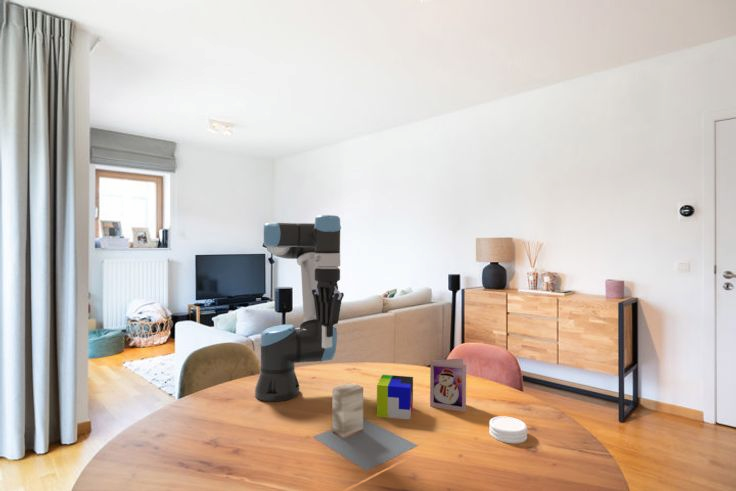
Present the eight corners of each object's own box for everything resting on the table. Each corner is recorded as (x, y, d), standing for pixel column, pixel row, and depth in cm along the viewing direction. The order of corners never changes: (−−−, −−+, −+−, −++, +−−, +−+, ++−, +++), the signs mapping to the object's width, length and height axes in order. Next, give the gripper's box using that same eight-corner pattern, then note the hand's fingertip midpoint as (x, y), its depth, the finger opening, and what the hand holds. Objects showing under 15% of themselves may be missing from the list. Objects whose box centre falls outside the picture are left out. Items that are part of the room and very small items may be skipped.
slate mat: (312, 438, 111) (312, 436, 111) (362, 419, 123) (362, 417, 123) (366, 472, 95) (366, 470, 95) (417, 446, 107) (418, 445, 107)
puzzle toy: (409, 421, 122) (409, 387, 122) (376, 417, 124) (377, 385, 124) (412, 407, 132) (413, 376, 132) (382, 405, 134) (382, 374, 134)
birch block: (332, 432, 114) (332, 388, 114) (351, 424, 118) (351, 382, 118) (343, 438, 110) (343, 393, 110) (363, 430, 115) (363, 387, 115)
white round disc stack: (526, 430, 117) (526, 418, 117) (527, 447, 108) (528, 434, 107) (490, 425, 120) (490, 413, 120) (488, 440, 111) (488, 428, 111)
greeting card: (429, 407, 132) (429, 361, 132) (434, 399, 139) (435, 355, 139) (465, 413, 128) (465, 365, 128) (468, 404, 135) (469, 359, 135)
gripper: (304, 267, 123) (304, 345, 124) (330, 269, 114) (329, 354, 114) (324, 266, 128) (324, 341, 129) (351, 268, 119) (350, 349, 119)
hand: (326, 347), depth 121 cm, fingers closed
